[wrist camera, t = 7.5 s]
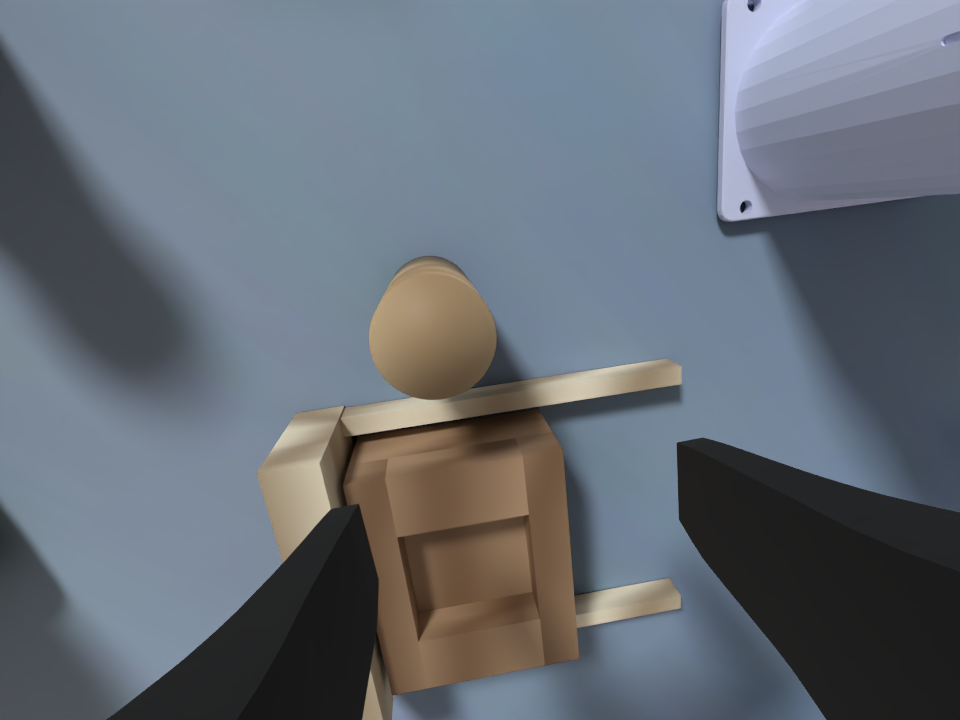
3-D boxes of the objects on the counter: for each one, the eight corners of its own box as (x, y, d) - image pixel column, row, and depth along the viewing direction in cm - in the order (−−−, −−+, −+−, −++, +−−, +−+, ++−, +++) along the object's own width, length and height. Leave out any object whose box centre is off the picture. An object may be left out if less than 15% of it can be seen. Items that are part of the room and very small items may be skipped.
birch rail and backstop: (667, 356, 21) (737, 396, 17) (669, 592, 25) (726, 679, 20) (296, 413, 20) (256, 473, 15) (356, 650, 24) (339, 758, 19)
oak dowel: (466, 250, 19) (489, 268, 12) (477, 333, 20) (503, 389, 13) (381, 261, 19) (357, 286, 12) (396, 345, 20) (381, 408, 13)
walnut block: (538, 408, 21) (562, 449, 18) (555, 589, 24) (579, 658, 20) (357, 436, 21) (342, 485, 17) (397, 618, 24) (391, 695, 20)
